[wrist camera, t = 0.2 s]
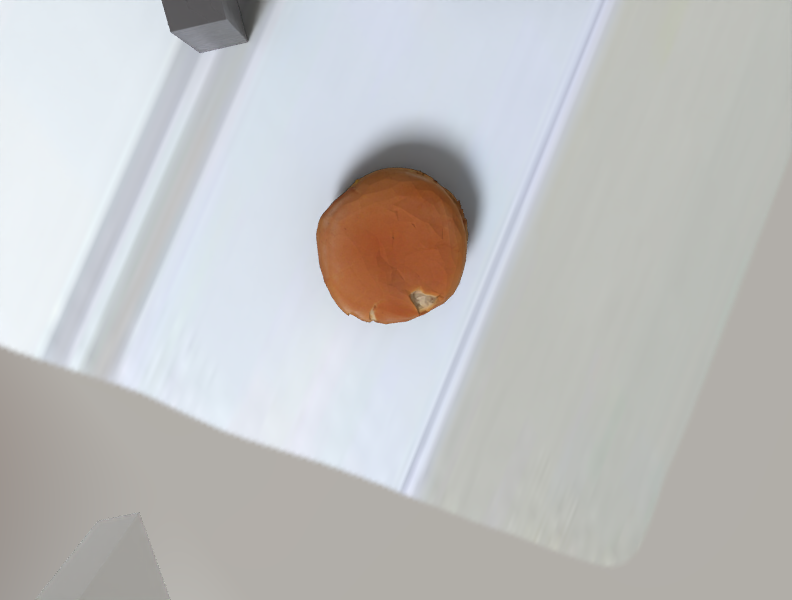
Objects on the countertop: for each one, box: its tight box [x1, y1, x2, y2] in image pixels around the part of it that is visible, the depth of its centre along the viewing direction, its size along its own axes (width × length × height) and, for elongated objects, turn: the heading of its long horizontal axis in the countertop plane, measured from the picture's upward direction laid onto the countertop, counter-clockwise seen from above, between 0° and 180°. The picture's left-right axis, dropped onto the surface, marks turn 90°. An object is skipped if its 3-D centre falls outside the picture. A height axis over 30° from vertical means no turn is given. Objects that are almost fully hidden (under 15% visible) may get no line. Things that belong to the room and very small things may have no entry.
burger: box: [316, 168, 468, 324], centre depth 35 cm, size 10×9×5 cm
